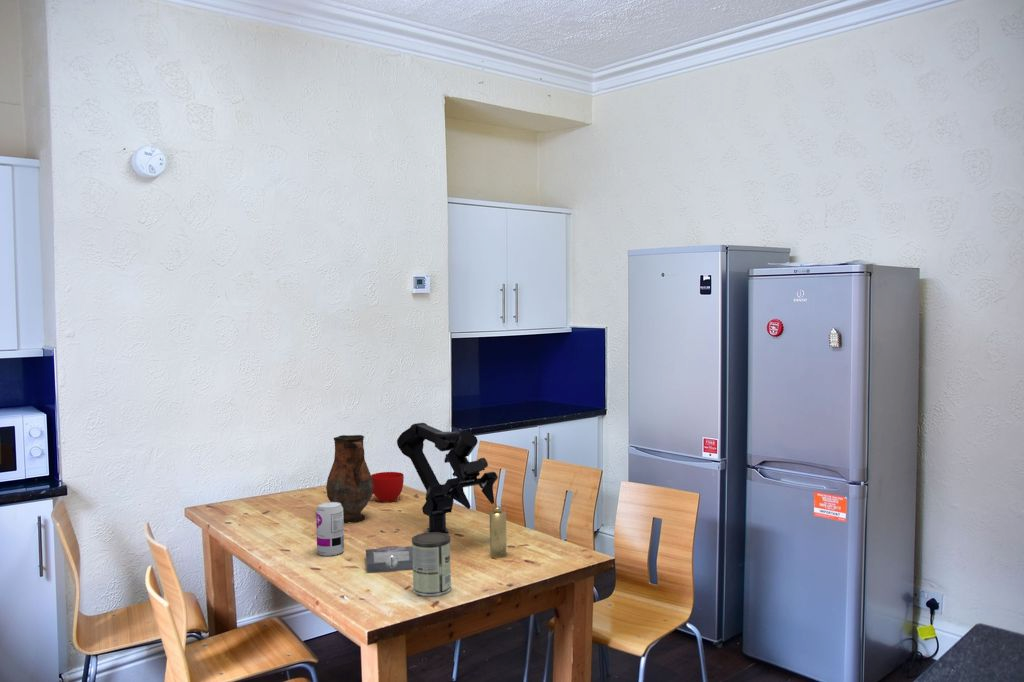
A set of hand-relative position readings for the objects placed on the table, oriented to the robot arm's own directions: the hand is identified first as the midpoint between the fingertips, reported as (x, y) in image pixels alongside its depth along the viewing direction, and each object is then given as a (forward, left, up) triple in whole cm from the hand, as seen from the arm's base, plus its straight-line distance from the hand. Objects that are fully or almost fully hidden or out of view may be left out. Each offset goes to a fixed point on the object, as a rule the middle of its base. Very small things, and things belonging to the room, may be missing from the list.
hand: (481, 505), depth 244 cm
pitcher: (-45, -39, -14) cm, 61 cm away
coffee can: (+32, -19, -14) cm, 40 cm away
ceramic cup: (-72, -27, -14) cm, 78 cm away
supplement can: (-8, -46, -14) cm, 49 cm away
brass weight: (+7, +4, -14) cm, 16 cm away
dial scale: (+7, -29, -14) cm, 33 cm away
